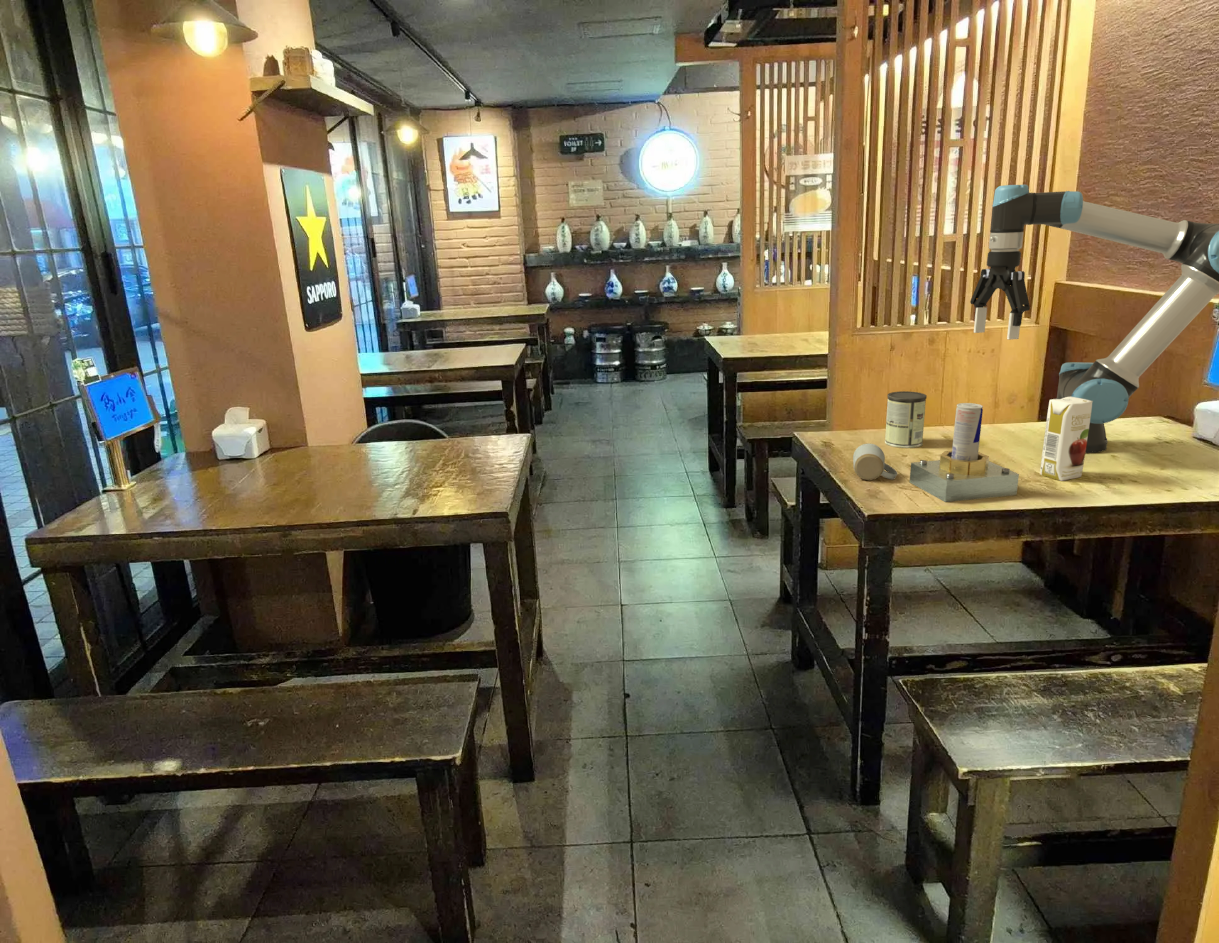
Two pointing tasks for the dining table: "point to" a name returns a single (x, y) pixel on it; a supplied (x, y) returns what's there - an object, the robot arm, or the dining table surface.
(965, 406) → the beverage can
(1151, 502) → the dining table surface
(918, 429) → the coffee can
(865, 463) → the ceramic mug
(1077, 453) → the juice carton
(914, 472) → the metal socket fixture
